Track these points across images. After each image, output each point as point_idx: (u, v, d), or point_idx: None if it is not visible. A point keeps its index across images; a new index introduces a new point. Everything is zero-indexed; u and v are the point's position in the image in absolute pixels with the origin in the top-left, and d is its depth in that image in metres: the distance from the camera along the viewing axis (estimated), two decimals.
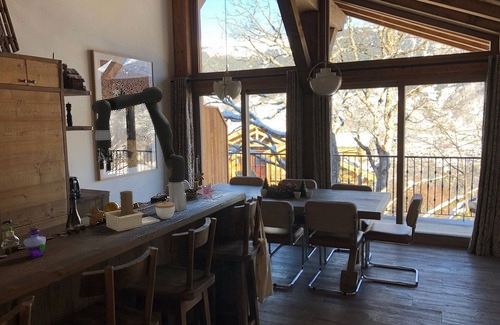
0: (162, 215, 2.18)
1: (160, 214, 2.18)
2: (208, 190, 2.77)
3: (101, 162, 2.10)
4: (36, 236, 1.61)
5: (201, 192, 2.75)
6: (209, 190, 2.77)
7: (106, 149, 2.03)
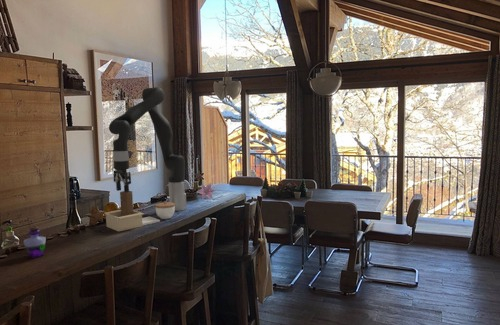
0: (162, 215, 2.18)
1: (160, 214, 2.18)
2: (208, 190, 2.77)
3: (118, 183, 2.06)
4: (36, 236, 1.61)
5: (201, 192, 2.75)
6: (209, 190, 2.77)
7: (124, 170, 2.00)
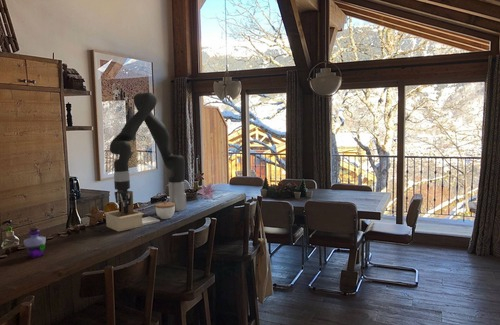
0: (162, 215, 2.18)
1: (160, 214, 2.18)
2: (208, 190, 2.77)
3: (120, 204, 2.06)
4: (36, 236, 1.61)
5: (202, 192, 2.74)
6: (209, 190, 2.77)
7: (125, 190, 2.01)
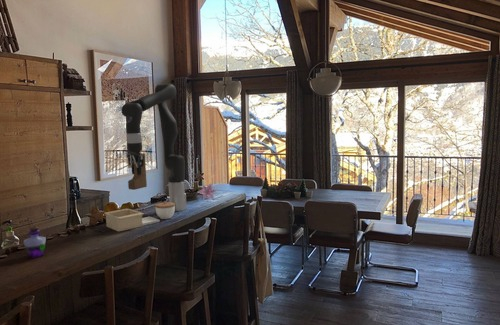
0: (162, 215, 2.18)
1: (160, 214, 2.18)
2: (209, 190, 2.76)
3: (133, 166, 2.10)
4: (36, 236, 1.61)
5: (202, 192, 2.74)
6: (210, 190, 2.76)
7: (138, 152, 2.04)
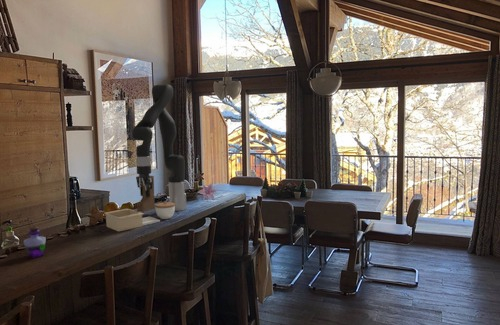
0: (162, 215, 2.18)
1: (160, 214, 2.18)
2: (209, 190, 2.76)
3: (142, 189, 2.14)
4: (36, 236, 1.61)
5: (202, 192, 2.74)
6: (210, 190, 2.76)
7: (147, 175, 2.09)
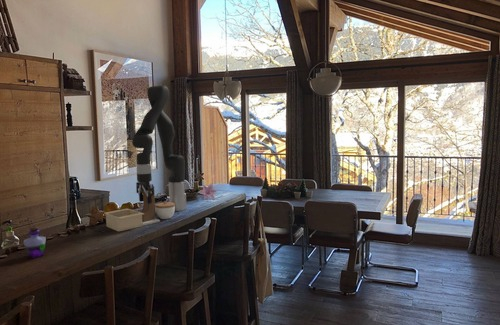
0: (162, 215, 2.18)
1: (160, 214, 2.18)
2: (210, 190, 2.76)
3: (141, 194, 2.16)
4: (36, 236, 1.61)
5: (203, 192, 2.73)
6: (211, 190, 2.76)
7: (147, 182, 2.09)
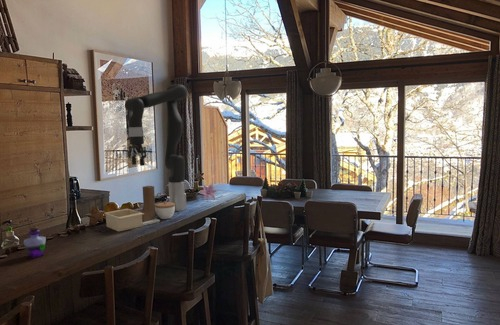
0: (162, 215, 2.18)
1: (160, 214, 2.18)
2: (210, 190, 2.75)
3: (133, 157, 2.21)
4: (36, 236, 1.61)
5: (203, 192, 2.73)
6: (211, 190, 2.75)
7: (139, 145, 2.14)
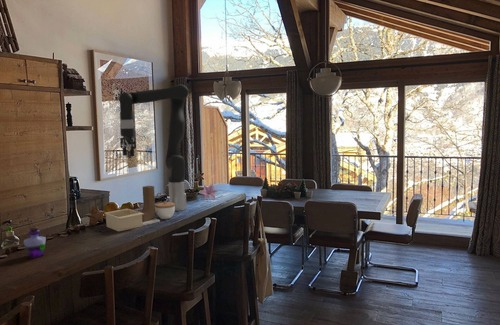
0: (162, 215, 2.18)
1: (160, 214, 2.18)
2: (210, 190, 2.75)
3: (124, 149, 2.33)
4: (36, 236, 1.61)
5: (204, 193, 2.73)
6: (211, 190, 2.75)
7: (130, 137, 2.27)
